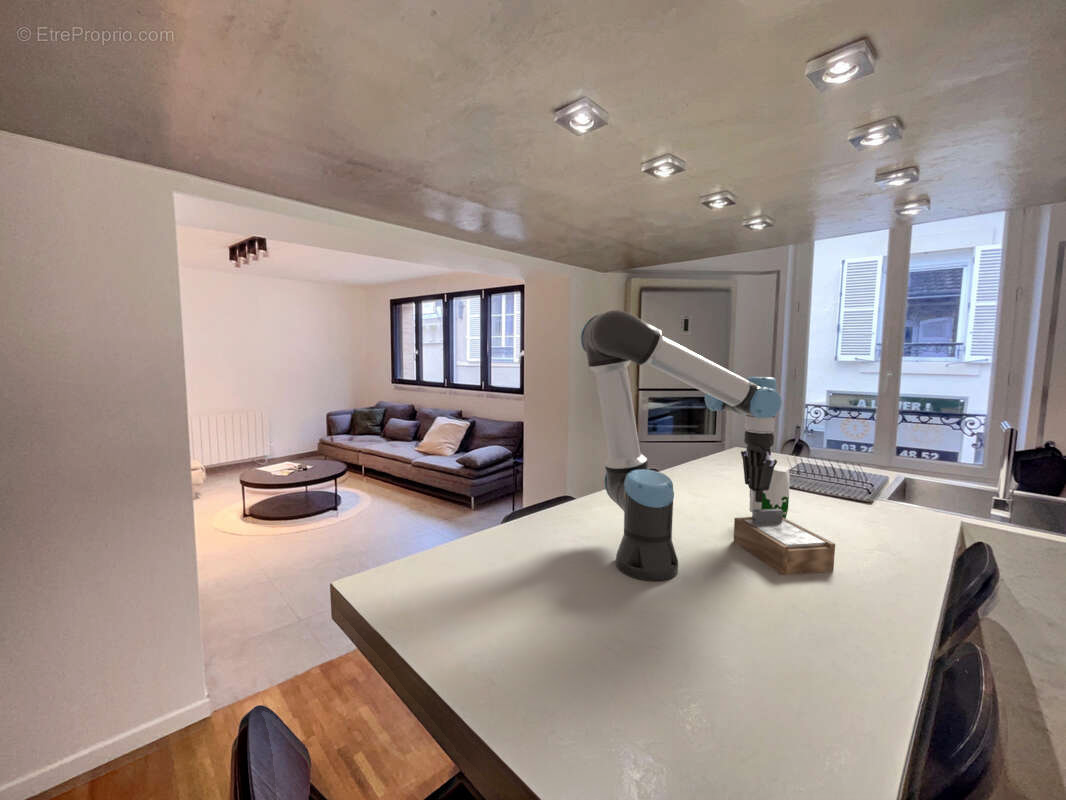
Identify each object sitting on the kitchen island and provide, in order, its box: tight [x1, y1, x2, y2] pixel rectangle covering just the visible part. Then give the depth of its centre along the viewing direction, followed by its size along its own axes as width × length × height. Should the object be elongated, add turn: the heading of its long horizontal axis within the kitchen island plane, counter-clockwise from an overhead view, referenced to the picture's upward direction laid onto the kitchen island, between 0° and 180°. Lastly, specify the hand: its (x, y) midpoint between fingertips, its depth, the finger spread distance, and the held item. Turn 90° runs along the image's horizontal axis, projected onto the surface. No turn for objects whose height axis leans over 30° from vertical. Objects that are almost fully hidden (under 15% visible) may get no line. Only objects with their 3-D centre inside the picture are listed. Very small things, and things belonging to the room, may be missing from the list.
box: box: [733, 516, 836, 576], centre depth 118 cm, size 14×20×7 cm
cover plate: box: [744, 509, 826, 548], centre depth 118 cm, size 11×17×4 cm, turn 8°
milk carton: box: [761, 464, 791, 519], centre depth 142 cm, size 9×9×20 cm
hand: (755, 511), depth 129 cm, fingers closed
